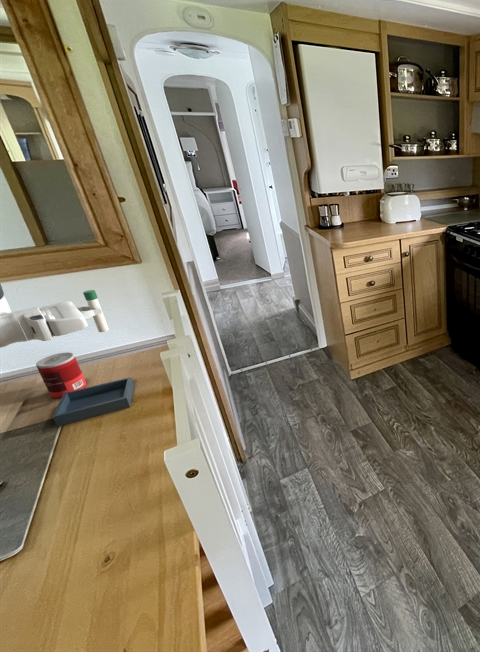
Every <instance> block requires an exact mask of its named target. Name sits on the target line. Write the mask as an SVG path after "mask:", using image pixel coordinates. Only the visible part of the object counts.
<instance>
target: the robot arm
mask: <svg viewBox="0 0 480 652" xmlns="http://www.w3.org/2000/svg"><path fill="white" fill-rule="evenodd" d="M3 289H4V288H3V286H2V283H1V282H0V349H1V348H5V347H8V346H9V345H12V344H15V343H24V342H28V341H34V340H35V341H36V340H37V341H41V342H48V341H51V340H54V338H55V337H60V336H65V335H68V334H72V333H76V332H78V331H83V330H84V329H86V328H88V327H89V325H88V322H87V319H88V320H89V319H90V318H93V316H95V315H98V314H101V313H102V312H103V309H102V308H101V309H102V310H101V309H100V308H93V309H92V310H90V308H89V306H88V305H79V306H76V305H75V304H74V302H73V301H70V300H69V301H67V300H66V301H62V302H57V303H53V304H49V305H44V306H42V307H38V306H36V307H31V308H26V309H25V308H24V309H21V310H15V311H12V308H11V307H10V304H9V302H8V300H7V298H6V295H5V292H4V290H3Z"/></svg>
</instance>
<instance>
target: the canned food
mask: <svg viewBox="0 0 480 652" xmlns="http://www.w3.org/2000/svg"><path fill="white" fill-rule="evenodd" d="M35 366H36V368H37V371H38V373H39V375H40V377H41V379H42V381H43V383H44V385H45V387H46V390H47V392H48V393H49V395H50V396H51V397H52V398H53V399H61V398H62V396H63V394H64V393H66V392H70V391H74V390H78V389H83V388H87V382H86V379H85V376H84V375H83V372H82V370H81V367H80V365H79V363H78V360H77V358H76V356H75V354H74V353H73V352H59V353H55V354H52V355H49V356H45V357H43V358H42V359H40V360H38V361H37V362H36V363H35Z"/></svg>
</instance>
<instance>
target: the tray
mask: <svg viewBox="0 0 480 652" xmlns="http://www.w3.org/2000/svg"><path fill="white" fill-rule="evenodd" d="M134 388H135V384H134V381H133V378H132V376H129V377H125V378H121V379H116V380H112V381H109V382H103V383H99V384H96V385H91V386H86V388H83V389H78V390H74V391H70V392H66V393H64V394H63V396H62V398H60V400H59V403H58V405H57V407H56V409H55V411H54V413H53V416H52V420H53V421H54V423H55V425H56V427H57V426H58V427H62V426H66V425H69V424H73V423H76V422H79V421H84V420H88V419H91V418H95V417H99V416H102V415H105V414H110V413H113V412H117V411H121V410H125V409H127V408H131V404H132V399H133V393H134Z"/></svg>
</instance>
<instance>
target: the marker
mask: <svg viewBox="0 0 480 652" xmlns="http://www.w3.org/2000/svg"><path fill="white" fill-rule="evenodd" d="M82 294H83V296H84V299H85V300H86V303H87V306H89V308H90V310H92V309H93V308H100V309H101V310H102V313H101V314H98V315H95V316H93V317H92V318H93V321H94V323H95V326H96V329H97V331H98V333H105V332H108V331H109V330H110V328H109V325H108V323H107V319H106V317H105V315H104V312H103V309H102V307H101V304H100V301H99V298H98V295H97V291H96V290H94V289H89V290H85V291H83V292H82Z"/></svg>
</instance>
